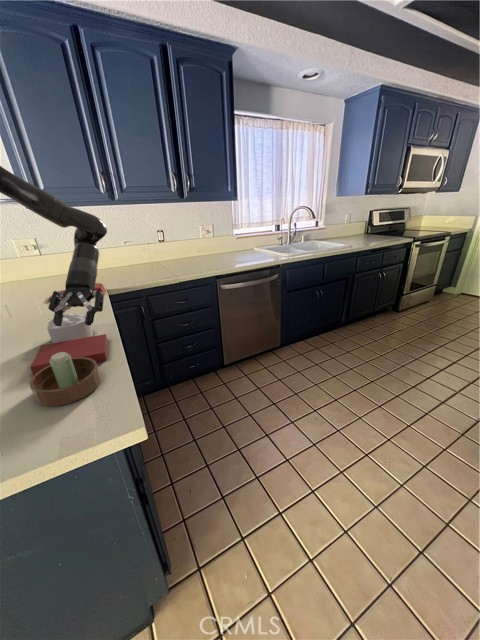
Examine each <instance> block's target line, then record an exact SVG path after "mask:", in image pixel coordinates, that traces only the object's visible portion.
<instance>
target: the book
mask: <svg viewBox="0 0 480 640" xmlns="http://www.w3.org/2000/svg"><path fill="white" fill-rule="evenodd" d="M108 348H109V339H108V335H107V333H105V334H99V335H92V336H91V337H86V338H81V339H75V340H69V341H63V342H58V343H52V342H51V343H46V344H42V345H40V347H39V349H38V351H37V353H36V354H35V357H34V359H33V361H32V362H31V364H30V367H29V368H30V370H31V373H32V375H33V376H34V375H35V374H36V373H37V372H39V371H40V370H42V369H43V368H45V367H47V366H49V365H50V362H49V360H50V359H51V357H52V356H53V355H54V354H56V353H60V352H66V353H67V354H70V355H71V358H77V357H85V358H91V359H93V360H95V361H96V363H100V362H105V361H108Z"/></svg>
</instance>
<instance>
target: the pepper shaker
mask: <svg viewBox="0 0 480 640" xmlns="http://www.w3.org/2000/svg"><path fill="white" fill-rule="evenodd" d="M49 362H50V365H51V368H52V370H53V373H54V376H55V378H56V381H57V384H58V386H59V389H60V388H65V387H68V386H70V385H73V384H76V383H78V382H79V380H78V377H77V374H76V370H75V367H74V364H73V361H72V358H71V355H70V354H67V353H66V352H60V353H56V354H54V355H53V356H52V357H51V359H50V360H49Z"/></svg>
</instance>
